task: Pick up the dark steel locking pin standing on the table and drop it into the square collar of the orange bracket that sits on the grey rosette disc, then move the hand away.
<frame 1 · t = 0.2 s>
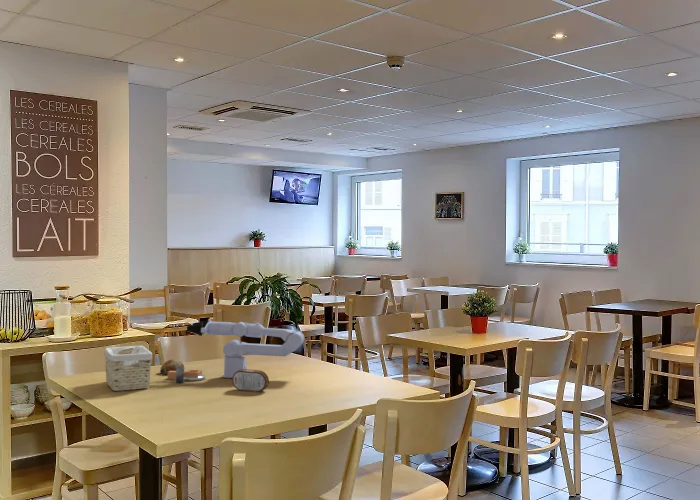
hand: (189, 327, 293), 21 cm above the table, tool horizontal, fingers open, 7 cm apart
bracket: (193, 379, 285), on the table
storage basket: (127, 386, 271), on the table
pin: (179, 382, 277), on the table
bread roll: (172, 373, 298), on the table
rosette: (193, 379, 285), on the table
tin: (250, 391, 263), on the table
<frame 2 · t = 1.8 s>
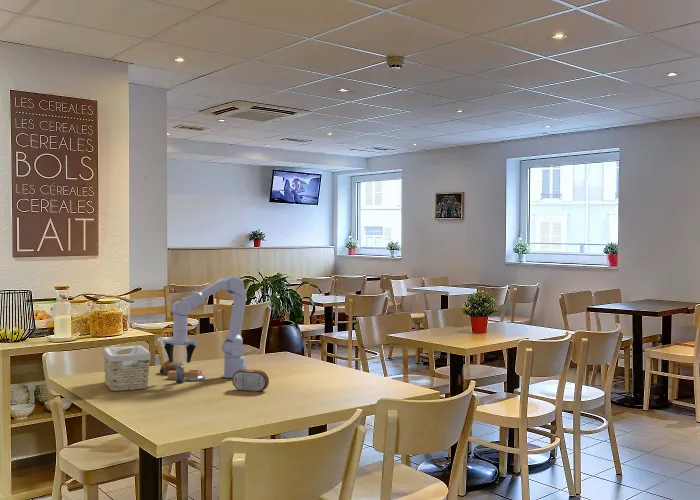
hand: (179, 362, 277), 9 cm above the table, tool pointing down, fingers open, 7 cm apart
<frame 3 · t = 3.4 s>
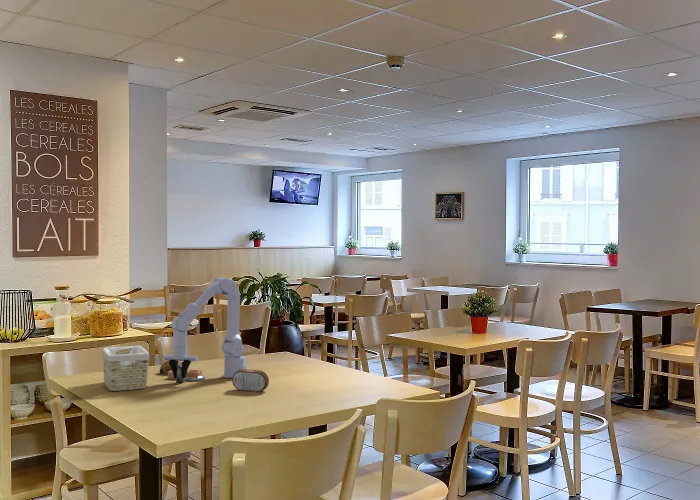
hand: (179, 378, 277), 2 cm above the table, tool pointing down, fingers closed on pin, 3 cm apart
pin: (179, 382, 277), on the table, touching gripper
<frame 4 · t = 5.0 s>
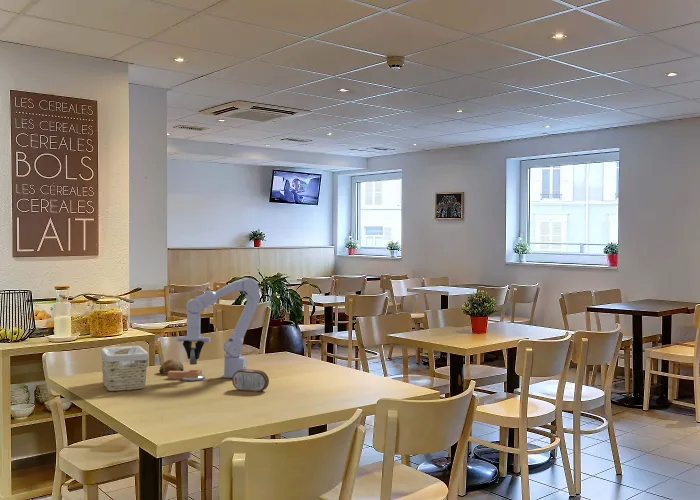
hand: (193, 358, 285), 9 cm above the table, tool pointing down, fingers closed on pin, 3 cm apart
pin: (193, 363, 285), point 7 cm above the table, touching gripper
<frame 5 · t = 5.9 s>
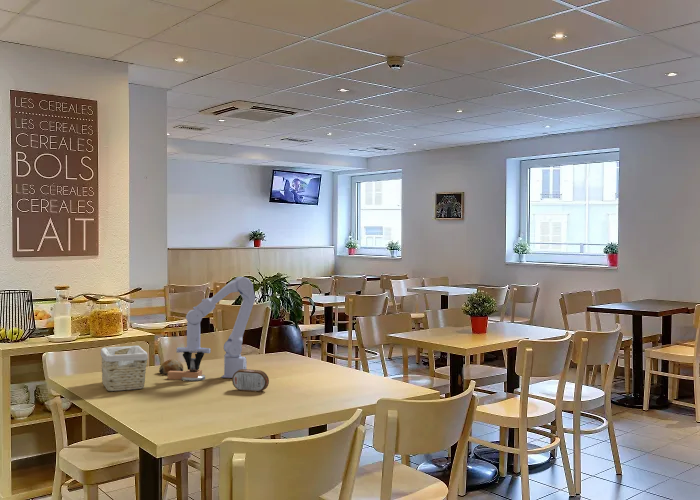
hand: (193, 369, 285), 4 cm above the table, tool pointing down, fingers closed on pin, 3 cm apart
pin: (193, 374, 285), point 2 cm above the table, touching gripper
when the fingers open (4 cm above the table, at t = 6.5 s): pin stays where it is, resting on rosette.
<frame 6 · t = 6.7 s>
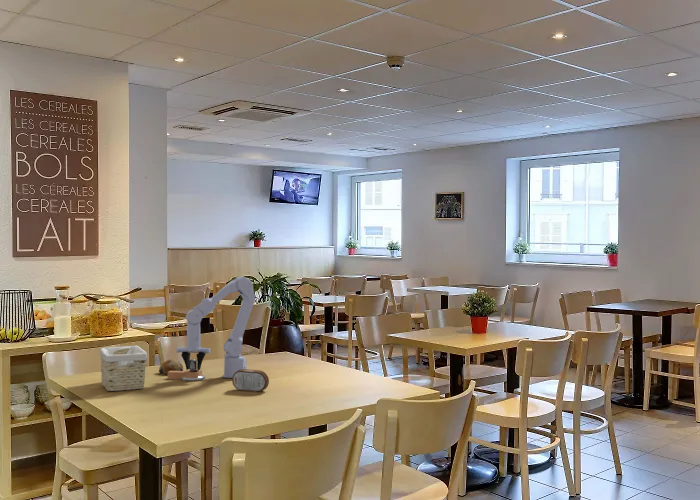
hand: (193, 369, 285), 4 cm above the table, tool pointing down, fingers open, 4 cm apart
pin: (193, 376, 285), point 1 cm above the table, touching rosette
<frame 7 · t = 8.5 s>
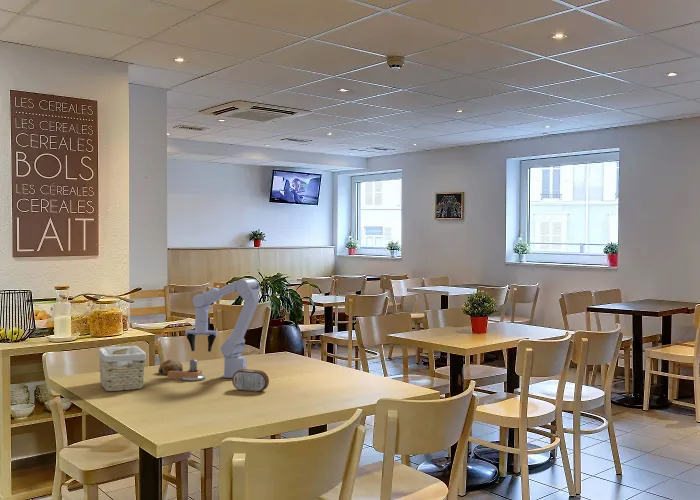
hand: (201, 351, 298), 10 cm above the table, tool pointing down, fingers open, 7 cm apart
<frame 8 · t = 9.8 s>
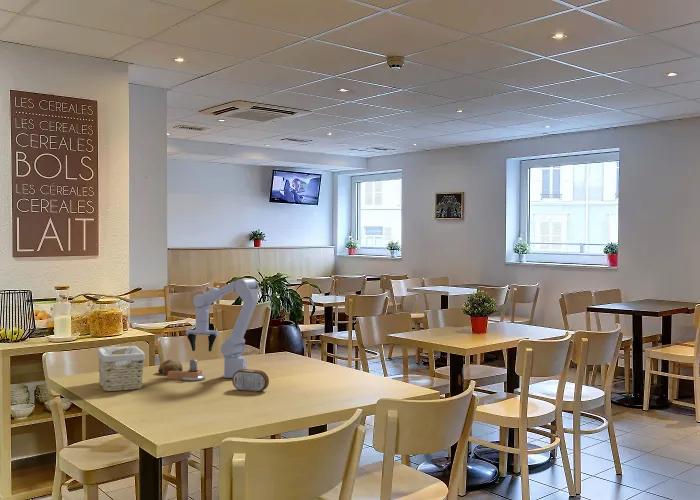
hand: (201, 350, 299), 10 cm above the table, tool pointing down, fingers open, 7 cm apart
at the end: pin 0.2 cm off-centre on the bracket, point 1.2 cm above the bracket's base; pin tilted 0°; the gripper is holding nothing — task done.
